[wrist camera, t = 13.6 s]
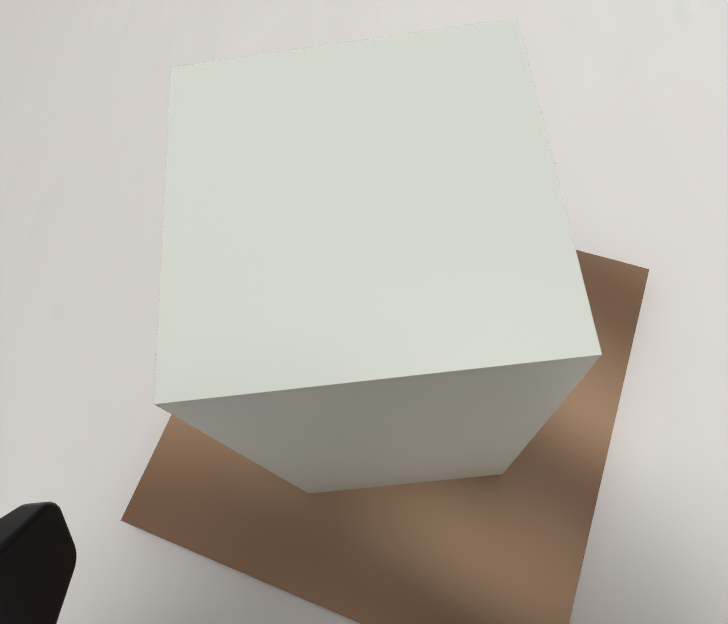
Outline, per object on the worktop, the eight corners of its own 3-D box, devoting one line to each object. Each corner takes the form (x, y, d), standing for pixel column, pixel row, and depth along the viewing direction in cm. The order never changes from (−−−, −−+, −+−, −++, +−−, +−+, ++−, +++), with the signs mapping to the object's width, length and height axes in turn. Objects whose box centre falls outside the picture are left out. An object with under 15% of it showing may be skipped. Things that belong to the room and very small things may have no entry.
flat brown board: (545, 698, 18) (590, 749, 13) (131, 521, 21) (39, 509, 16) (641, 279, 22) (702, 198, 17) (291, 185, 25) (258, 94, 20)
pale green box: (502, 474, 19) (602, 354, 8) (308, 493, 20) (154, 403, 9) (472, 295, 22) (517, 17, 11) (299, 316, 22) (170, 67, 11)
